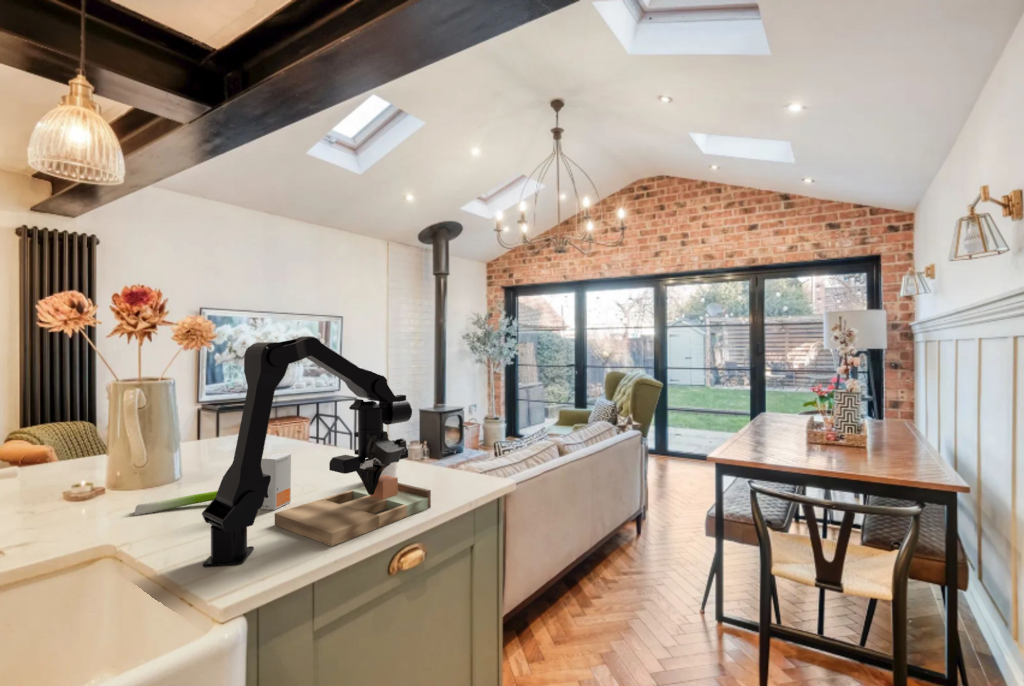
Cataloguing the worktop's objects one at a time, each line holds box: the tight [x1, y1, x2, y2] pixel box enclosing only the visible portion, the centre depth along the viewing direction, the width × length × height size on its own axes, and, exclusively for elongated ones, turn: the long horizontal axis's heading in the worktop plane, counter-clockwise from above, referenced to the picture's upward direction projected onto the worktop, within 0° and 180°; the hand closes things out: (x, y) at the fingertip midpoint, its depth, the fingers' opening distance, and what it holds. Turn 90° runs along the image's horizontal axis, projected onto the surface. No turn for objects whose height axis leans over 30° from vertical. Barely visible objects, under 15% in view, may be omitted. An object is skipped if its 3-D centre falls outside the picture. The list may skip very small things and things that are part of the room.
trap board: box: [274, 482, 432, 547], centre depth 111 cm, size 27×20×4 cm
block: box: [370, 475, 399, 499], centre depth 117 cm, size 4×4×4 cm
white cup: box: [380, 462, 398, 478], centre depth 140 cm, size 8×8×10 cm
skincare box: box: [259, 452, 292, 511], centre depth 118 cm, size 6×4×12 cm
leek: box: [134, 490, 218, 516], centre depth 118 cm, size 6×7×30 cm
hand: (371, 494), depth 114 cm, fingers closed
